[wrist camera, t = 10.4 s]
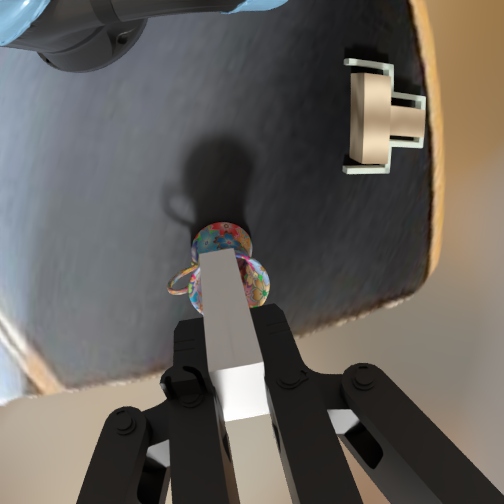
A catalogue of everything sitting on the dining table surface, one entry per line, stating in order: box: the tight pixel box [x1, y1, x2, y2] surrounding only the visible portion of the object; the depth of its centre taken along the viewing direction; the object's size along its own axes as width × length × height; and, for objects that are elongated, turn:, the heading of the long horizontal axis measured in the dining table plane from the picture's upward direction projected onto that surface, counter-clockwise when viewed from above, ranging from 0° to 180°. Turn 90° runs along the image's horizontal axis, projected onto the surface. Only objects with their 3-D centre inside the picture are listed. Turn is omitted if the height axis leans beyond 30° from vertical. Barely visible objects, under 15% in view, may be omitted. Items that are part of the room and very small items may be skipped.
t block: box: [350, 73, 425, 164], centre depth 38 cm, size 12×10×4 cm
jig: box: [343, 58, 426, 174], centre depth 40 cm, size 16×13×2 cm
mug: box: [167, 222, 270, 314], centre depth 41 cm, size 12×9×11 cm
